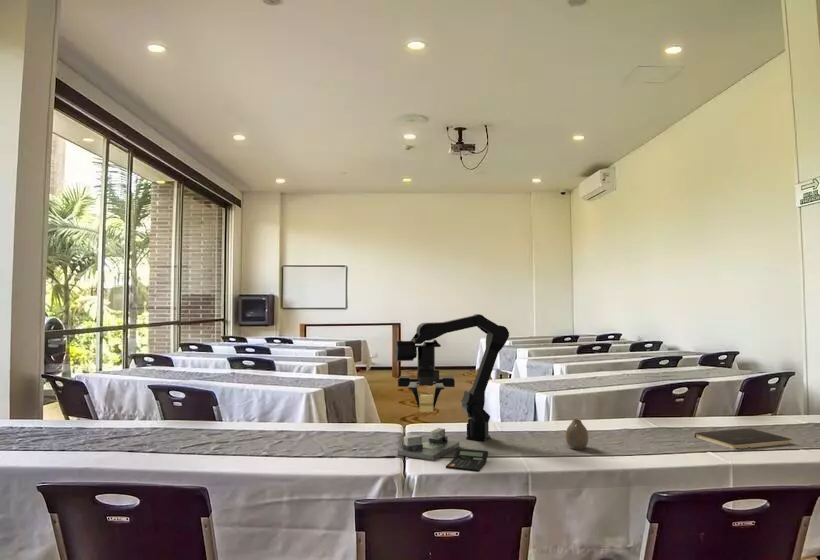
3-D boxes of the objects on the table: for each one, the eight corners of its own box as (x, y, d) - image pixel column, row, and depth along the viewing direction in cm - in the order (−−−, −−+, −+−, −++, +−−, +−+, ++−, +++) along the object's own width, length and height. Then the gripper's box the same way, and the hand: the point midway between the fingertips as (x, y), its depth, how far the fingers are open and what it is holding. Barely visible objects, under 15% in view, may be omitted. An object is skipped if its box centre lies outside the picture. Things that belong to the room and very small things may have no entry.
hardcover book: (791, 445, 178) (791, 438, 178) (733, 451, 172) (733, 443, 172) (749, 434, 193) (748, 427, 193) (694, 438, 187) (694, 432, 187)
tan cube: (433, 409, 186) (433, 394, 186) (433, 412, 181) (433, 396, 182) (419, 409, 186) (419, 394, 186) (419, 412, 182) (419, 396, 182)
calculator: (445, 469, 153) (445, 458, 153) (457, 458, 164) (457, 448, 164) (478, 472, 150) (478, 461, 150) (488, 461, 161) (488, 450, 161)
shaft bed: (459, 446, 176) (459, 430, 176) (433, 460, 160) (433, 442, 160) (426, 442, 182) (426, 426, 182) (397, 455, 166) (397, 437, 166)
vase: (577, 452, 169) (576, 423, 170) (561, 446, 175) (560, 419, 176) (593, 449, 173) (593, 420, 173) (577, 444, 179) (577, 416, 179)
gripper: (396, 363, 177) (396, 412, 176) (455, 363, 176) (455, 412, 175) (399, 359, 188) (399, 405, 187) (453, 359, 187) (454, 406, 187)
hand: (426, 407), depth 184 cm, fingers closed on tan cube, 5 cm apart
